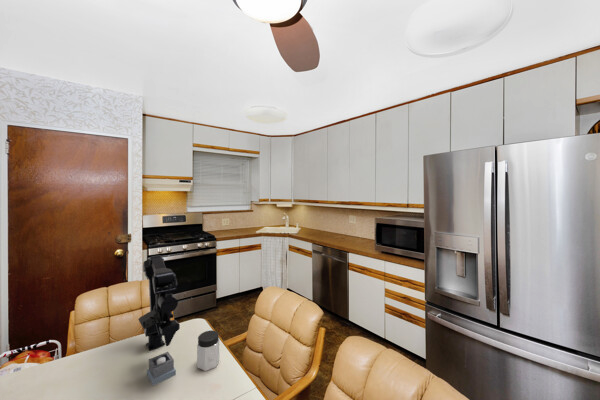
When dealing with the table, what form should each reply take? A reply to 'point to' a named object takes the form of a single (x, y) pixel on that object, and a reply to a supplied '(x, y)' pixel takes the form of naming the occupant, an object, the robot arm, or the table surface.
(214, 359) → the jar
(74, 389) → the table surface
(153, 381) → the shaft block
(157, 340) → the robot arm
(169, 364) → the collar
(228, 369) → the table surface
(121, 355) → the table surface
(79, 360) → the table surface
